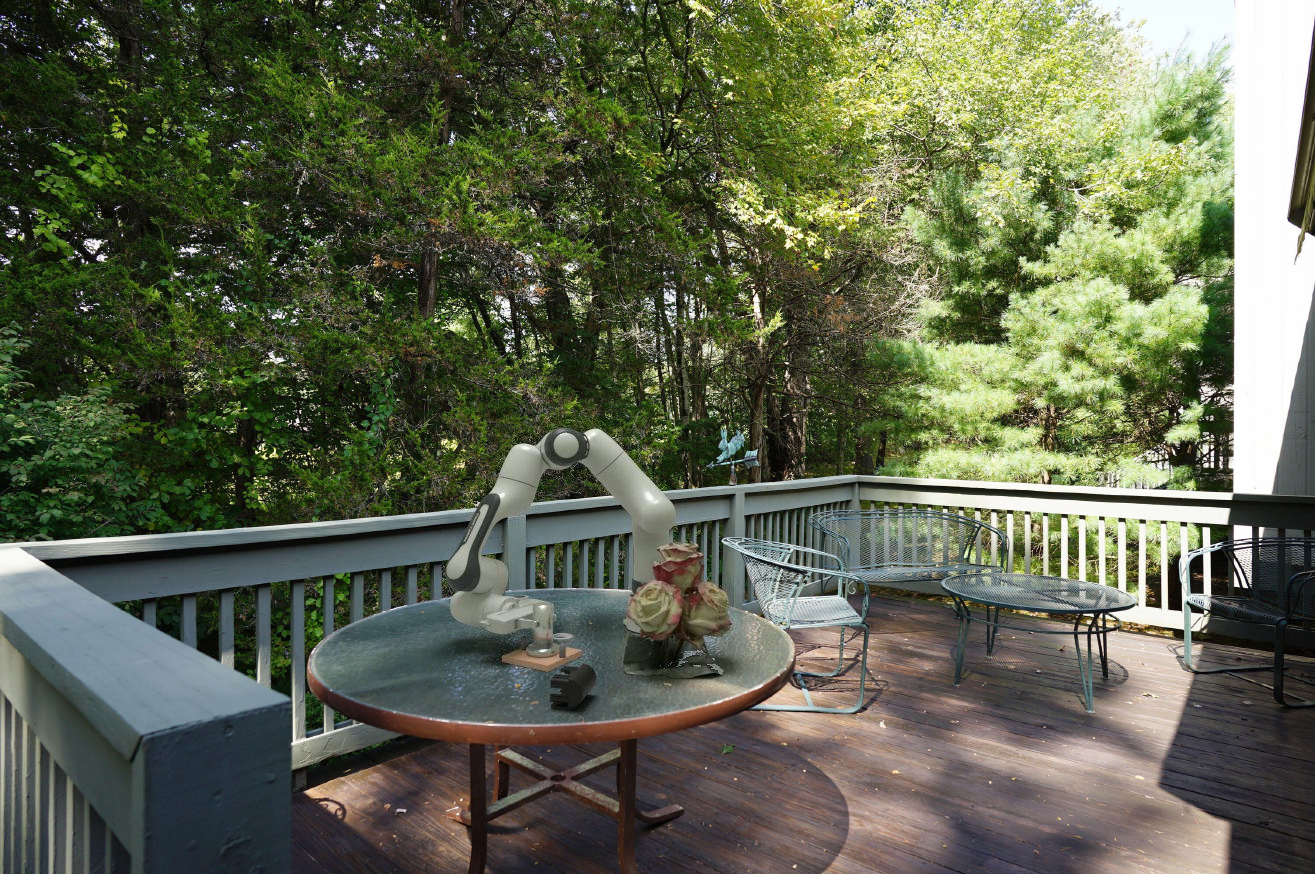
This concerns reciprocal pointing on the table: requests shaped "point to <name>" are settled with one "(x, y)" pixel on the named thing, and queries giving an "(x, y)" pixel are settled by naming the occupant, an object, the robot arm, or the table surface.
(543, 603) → the hub
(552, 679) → the end cap
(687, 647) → the rose bouquet
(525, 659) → the locating plate
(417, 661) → the table surface
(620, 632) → the table surface
